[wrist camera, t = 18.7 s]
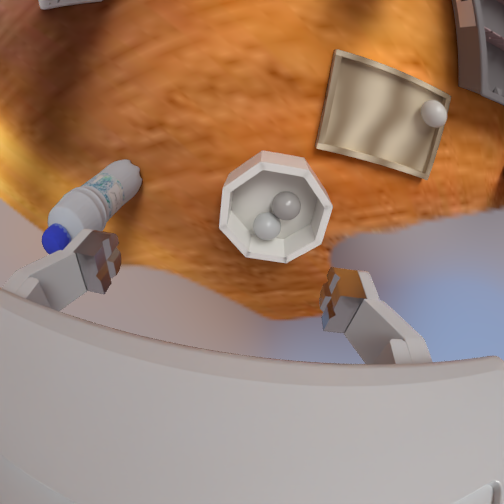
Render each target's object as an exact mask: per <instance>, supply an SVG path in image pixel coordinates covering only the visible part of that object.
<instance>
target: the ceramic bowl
mask: <svg viewBox="0 0 504 504" xmlns="http://www.w3.org/2000/svg"><path fill="white" fill-rule="evenodd" d="M283 191H289V192H292V193H294V194H295V195H296V196H297V197H298V198H299V200H300V203H301V209H300V212H299V214H298V215H297V216H296V217H295V218H294V219H292V220H281V219H279V220H280V222H281V230H280V233H279V234H278V236H277V237H275V238H274V239H272V240H262V239H260V238H259V237H257V236H256V234H255V233H254V230H253V222H254V220H255V218H256V217H257V216H258V215H259V214H261V213H264V212H270V213H273V211H272V201H273V198H274V197H275V196H276V195H277V194H278V193H280V192H283ZM332 208H333V206H332V203H331V201H330V199H329V196H328V194H327V192H326V190H325V188H324V187H323V185H322V184H321V182H320V181H319V179H318V178H317V176H316V175H315V173H314V172H313V170H312V169H311V167H310V166H309V164H308V163H307V161H306V160H305V158H302V157H297V156H292V155H286V154H280V153H275V152H269V151H261V152H259V153H258V154H256V155H255V156H254V157H252V158H251V159H249V160H248V161H246V162H245V163H243V164H242V165H241V166H239V167H238V168H236V169H235V170H234V171H232V172H231V173H229V175H228V177H227V180H226V182H225V184H224V186H223V191H222V201H221V212H220V223H219V229H220V230H221V231H222V232H223V233H224V234H225V235H226V236H227V237H228V238H229V240H230V241H231V242H232V243H233V244H234V245H235V246H236V247H237V248H238V249H239V250H240V252H241V253H242V254H243V255H244V256H245V257H248V258H254V259H261V260H268V261H274V262H281V263H287V262H289V261H291V260H293V259H295V258H297V257H298V256H300V255H302V254H304V253H306V252H308V251H309V250H311V249H313V248H315V247H317V246H319V245H320V244H321V243H322V240H323V237H324V234H325V231H326V227H327V224H328V221H329V218H330V215H331V211H332ZM273 214H274V213H273Z"/></svg>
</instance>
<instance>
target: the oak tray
mask: <svg viewBox="0 0 504 504" xmlns="http://www.w3.org/2000/svg"><path fill="white" fill-rule="evenodd" d="M428 100H436V101H438V102H440V103H441V104H442V105H443V106H444V107H445V109H446V112H447V113H448V109H449V104H450V100H451V96H450V95H448V94H447V93H445V92H443V91H441V90H439V89H437V88H435V87H433V86H431V85H429V84H427V83H425V82H423V81H421V80H419V79H417V78H415V77H413V76H410V75H408V74H406V73H404V72H401V71H399V70H396V69H394V68H391V67H389V66H386V65H384V64H381V63H378V62H376V61H373V60H370V59H367V58H364V57H361V56H358V55H355V54H352V53H348V52H345V51H341V50H338V49H336V50H334V54H333V59H332V65H331V70H330V76H329V81H328V86H327V91H326V96H325V101H324V106H323V111H322V116H321V121H320V125H319V130H318V135H317V139H316V144H315V147H316V148H317V149H321V150H325V151H330V152H334V153H338V154H342V155H346V156H350V157H354V158H358V159H362V160H365V161H369V162H372V163H376V164H379V165H383V166H386V167H389V168H393V169H396V170H399V171H402V172H405V173H408V174H411V175H414V176H417V177H420V178H423V179H425V180H428V177H429V175H430V172H431V169H432V166H433V163H434V160H435V156H436V153H437V150H438V147H439V143H440V140H441V136H442V133H443V129H444V125H445V124H444V125H443V126H441V127H438V128H434V127H431V126H429V125H427V124H426V123H425V122H424V120H423V119H422V116H421V107H422V105H423V103H424V102H426V101H428Z"/></svg>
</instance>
